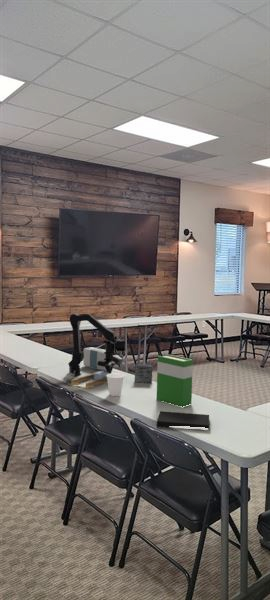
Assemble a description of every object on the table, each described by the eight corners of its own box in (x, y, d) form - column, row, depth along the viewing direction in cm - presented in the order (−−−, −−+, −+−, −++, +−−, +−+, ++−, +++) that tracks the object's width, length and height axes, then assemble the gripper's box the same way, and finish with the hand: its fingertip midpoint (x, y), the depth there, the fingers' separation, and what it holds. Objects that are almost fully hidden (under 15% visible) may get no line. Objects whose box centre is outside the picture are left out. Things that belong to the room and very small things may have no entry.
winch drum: (64, 382, 270) (65, 369, 269) (69, 380, 273) (70, 368, 273) (72, 384, 266) (72, 371, 266) (77, 382, 270) (77, 370, 269)
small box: (152, 381, 278) (152, 364, 277) (151, 383, 271) (152, 366, 271) (135, 380, 279) (135, 363, 278) (134, 383, 272) (134, 366, 272)
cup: (126, 394, 249) (127, 374, 248) (118, 398, 240) (119, 378, 239) (111, 391, 253) (111, 372, 252) (102, 396, 244) (103, 376, 243)
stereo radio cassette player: (82, 366, 311) (83, 338, 310) (91, 365, 318) (91, 337, 316) (104, 372, 298) (104, 342, 296) (112, 370, 304) (113, 341, 302)
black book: (160, 417, 214) (160, 410, 214) (209, 420, 210) (209, 414, 210) (156, 427, 200) (156, 421, 200) (209, 431, 196) (209, 425, 196)
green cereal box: (156, 400, 239) (157, 355, 237) (165, 397, 244) (166, 354, 243) (182, 408, 227) (183, 361, 225) (191, 405, 232) (192, 359, 230)
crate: (93, 379, 278) (94, 372, 277) (101, 377, 283) (101, 370, 283) (102, 382, 273) (102, 374, 273) (109, 379, 279) (109, 372, 278)
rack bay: (69, 385, 264) (69, 380, 263) (96, 376, 284) (96, 372, 284) (86, 389, 256) (86, 384, 256) (113, 380, 277) (113, 375, 277)
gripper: (111, 354, 271) (110, 379, 272) (128, 350, 286) (128, 373, 288) (97, 352, 277) (96, 376, 279) (115, 347, 293) (114, 371, 294)
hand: (109, 374), depth 285 cm, fingers closed
